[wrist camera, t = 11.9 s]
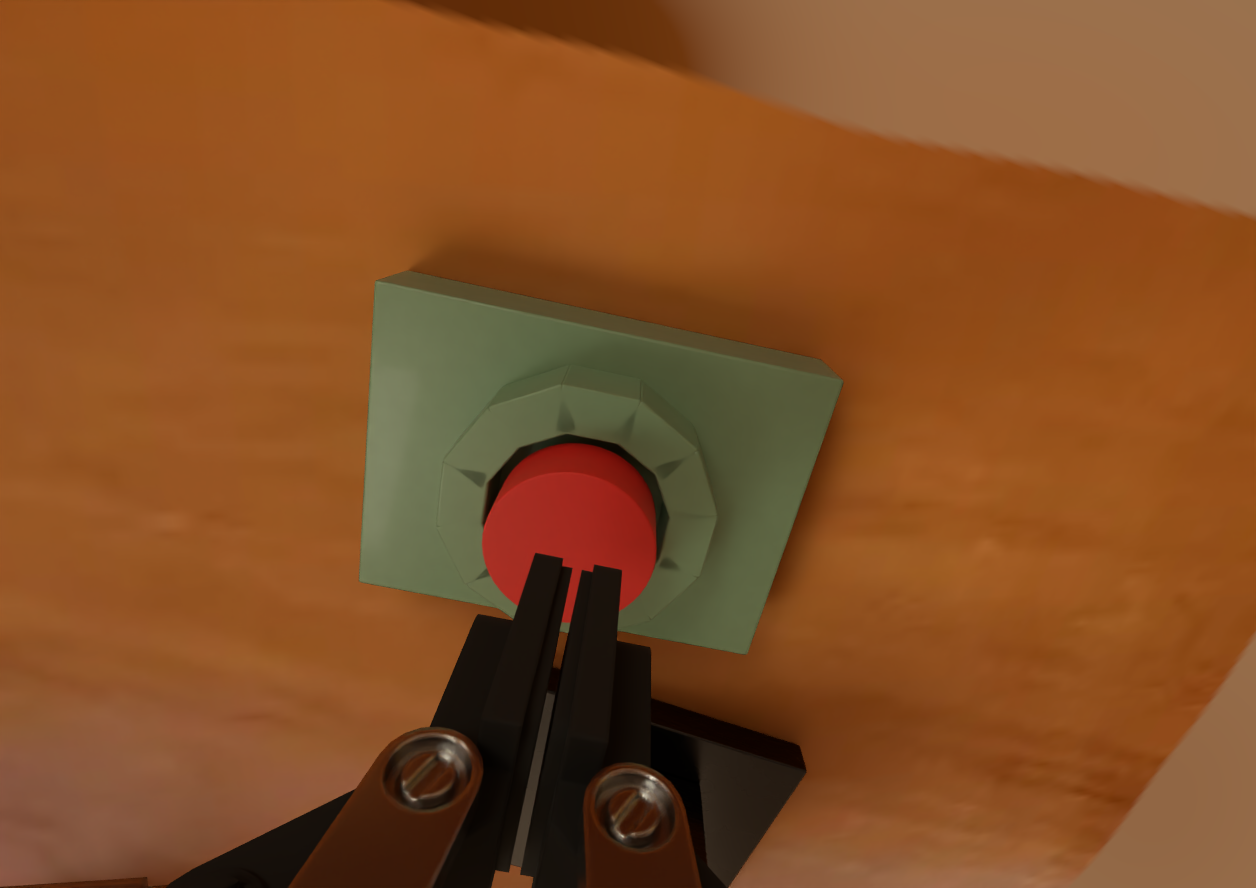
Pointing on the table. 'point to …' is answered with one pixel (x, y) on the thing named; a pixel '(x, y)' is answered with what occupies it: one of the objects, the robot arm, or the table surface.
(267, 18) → the table surface
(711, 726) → the bracket
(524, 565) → the button
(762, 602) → the switch block
